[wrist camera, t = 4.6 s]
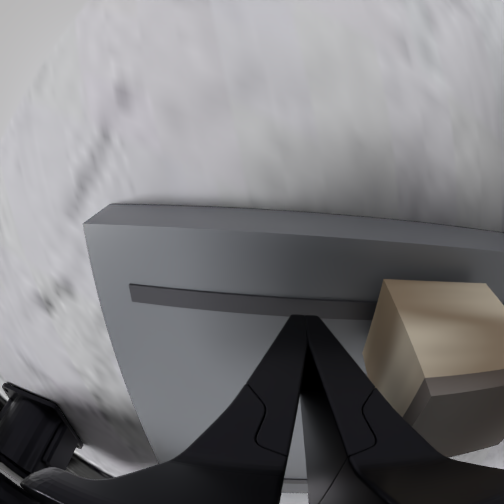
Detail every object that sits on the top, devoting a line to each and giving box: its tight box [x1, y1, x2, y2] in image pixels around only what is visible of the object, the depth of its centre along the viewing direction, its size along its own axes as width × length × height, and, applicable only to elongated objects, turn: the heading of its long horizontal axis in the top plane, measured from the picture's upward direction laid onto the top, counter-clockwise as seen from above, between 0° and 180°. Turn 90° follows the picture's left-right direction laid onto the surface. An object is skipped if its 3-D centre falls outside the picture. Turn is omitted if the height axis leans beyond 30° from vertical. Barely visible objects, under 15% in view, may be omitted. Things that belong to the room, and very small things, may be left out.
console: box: [83, 204, 504, 493], centre depth 14 cm, size 18×19×2 cm
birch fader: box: [362, 279, 504, 457], centre depth 8 cm, size 4×3×4 cm
